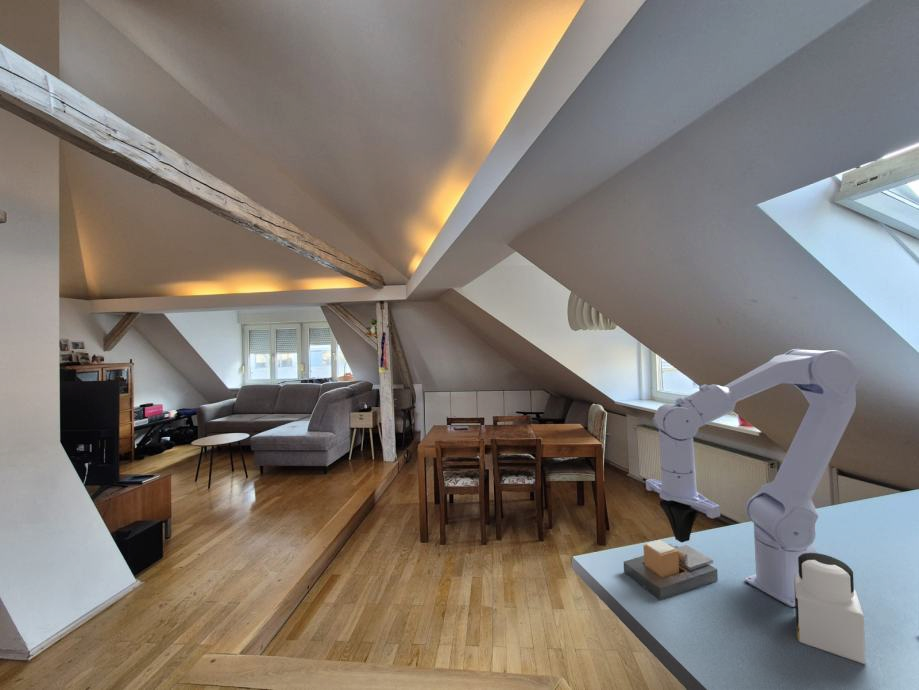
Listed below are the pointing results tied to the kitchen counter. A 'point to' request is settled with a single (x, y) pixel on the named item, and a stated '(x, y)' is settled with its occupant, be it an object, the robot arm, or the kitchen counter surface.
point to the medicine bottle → (829, 607)
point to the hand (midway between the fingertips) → (682, 539)
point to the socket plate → (669, 578)
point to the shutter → (691, 558)
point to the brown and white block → (661, 558)
